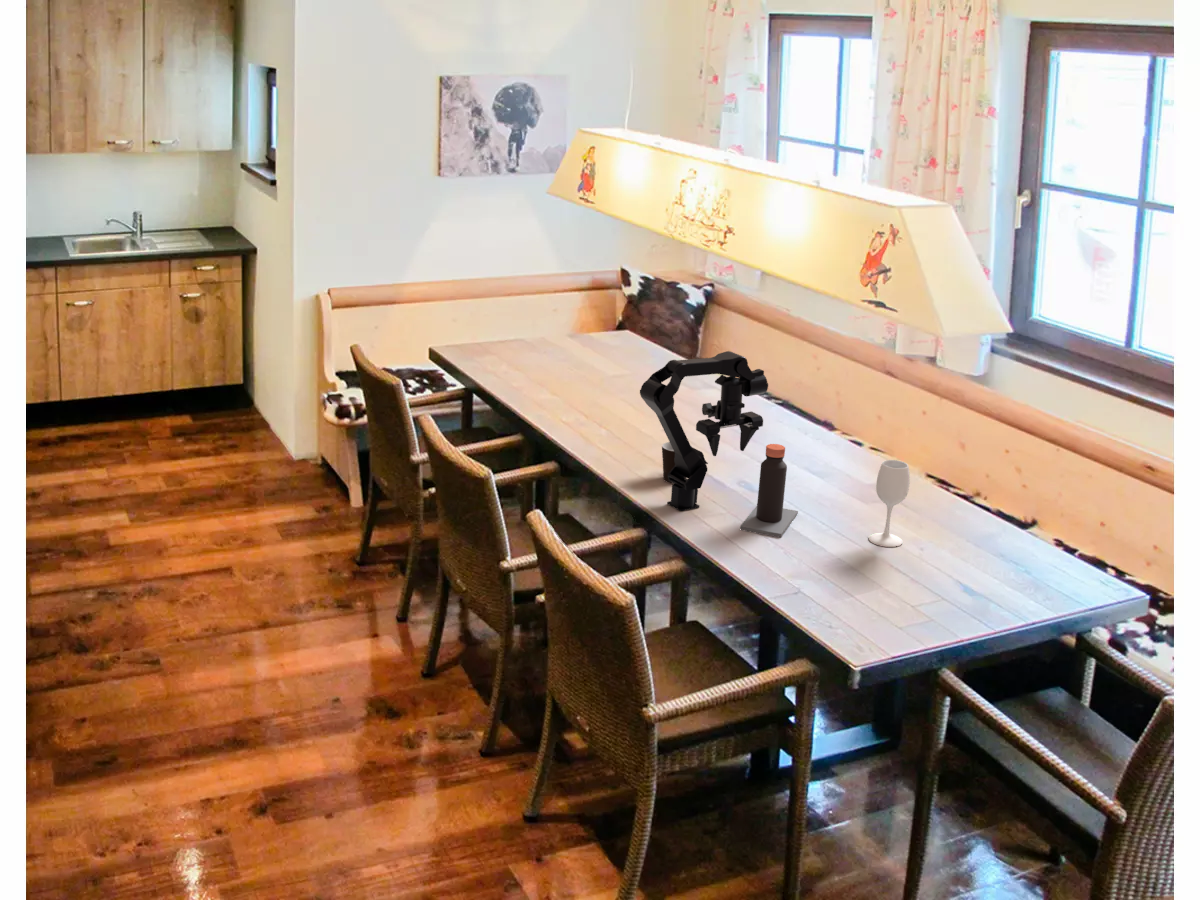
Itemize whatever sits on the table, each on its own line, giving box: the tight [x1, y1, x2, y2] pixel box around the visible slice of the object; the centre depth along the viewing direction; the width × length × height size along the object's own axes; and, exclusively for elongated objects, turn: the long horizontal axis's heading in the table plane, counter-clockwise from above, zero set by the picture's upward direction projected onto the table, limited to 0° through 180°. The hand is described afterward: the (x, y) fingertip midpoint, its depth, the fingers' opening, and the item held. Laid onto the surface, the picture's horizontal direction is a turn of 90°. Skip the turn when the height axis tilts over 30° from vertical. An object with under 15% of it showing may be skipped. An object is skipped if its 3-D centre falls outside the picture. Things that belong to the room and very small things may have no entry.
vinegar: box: [756, 443, 788, 523], centre depth 340 cm, size 7×7×20 cm
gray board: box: [739, 505, 799, 538], centre depth 343 cm, size 11×18×1 cm, turn 159°
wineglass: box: [868, 459, 911, 548], centre depth 332 cm, size 9×9×21 cm
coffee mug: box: [661, 441, 693, 484], centre depth 370 cm, size 12×9×10 cm
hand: (728, 453), depth 355 cm, fingers open, 9 cm apart
